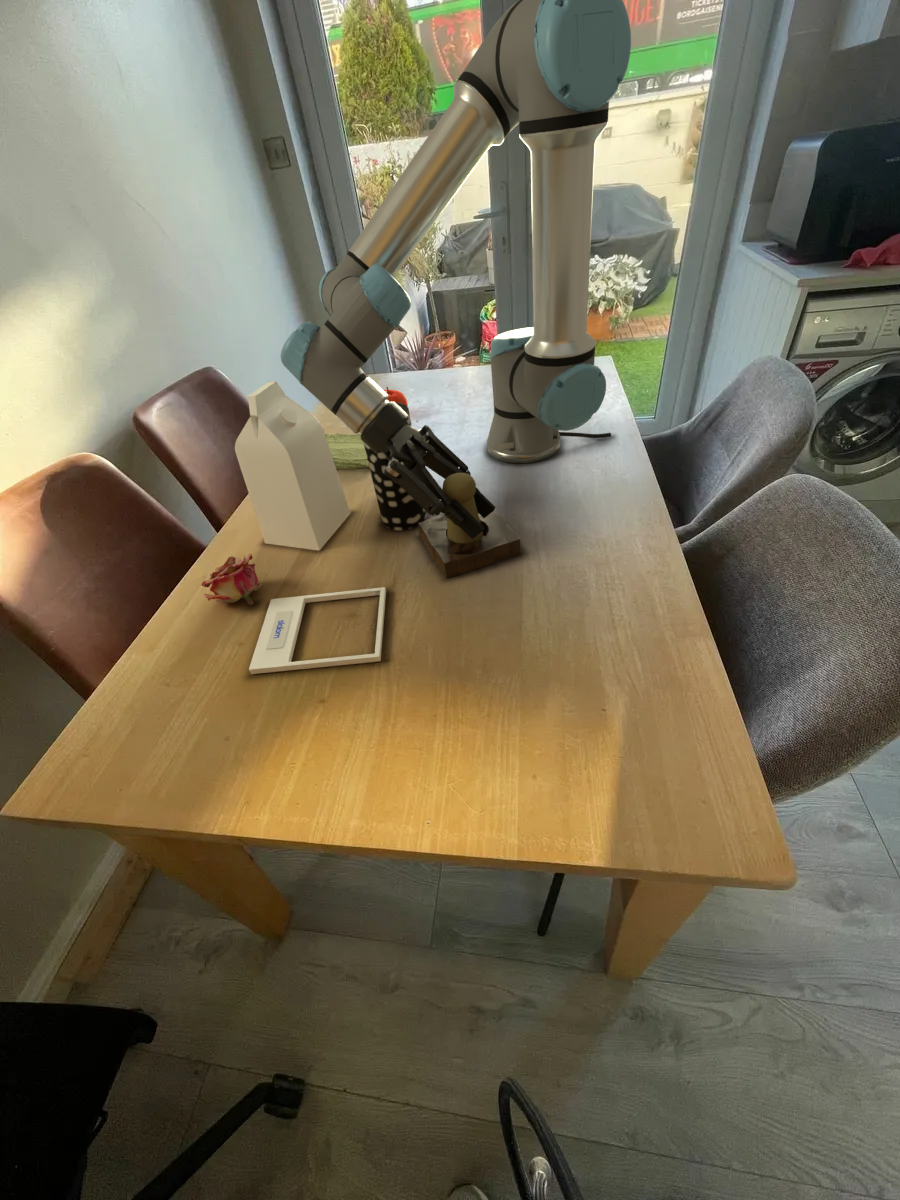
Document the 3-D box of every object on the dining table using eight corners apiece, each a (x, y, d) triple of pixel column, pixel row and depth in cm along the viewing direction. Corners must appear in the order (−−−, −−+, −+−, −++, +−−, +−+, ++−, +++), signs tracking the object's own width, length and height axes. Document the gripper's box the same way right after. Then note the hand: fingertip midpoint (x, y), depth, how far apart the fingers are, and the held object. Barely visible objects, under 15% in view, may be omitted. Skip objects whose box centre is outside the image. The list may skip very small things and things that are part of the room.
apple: (370, 424, 135) (363, 391, 130) (389, 411, 140) (384, 379, 135) (396, 428, 131) (390, 395, 126) (415, 415, 136) (410, 382, 131)
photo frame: (270, 598, 86) (384, 586, 85) (272, 603, 86) (386, 591, 86) (248, 668, 75) (378, 655, 74) (250, 674, 76) (380, 661, 75)
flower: (286, 582, 88) (255, 540, 86) (244, 610, 80) (210, 565, 79) (254, 602, 93) (226, 563, 92) (213, 630, 86) (181, 588, 85)
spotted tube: (420, 531, 98) (400, 424, 84) (376, 529, 100) (350, 425, 86) (431, 505, 103) (414, 401, 90) (389, 504, 105) (366, 402, 92)
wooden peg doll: (445, 528, 94) (437, 470, 86) (480, 523, 94) (475, 465, 86) (448, 549, 89) (439, 490, 82) (485, 544, 89) (480, 484, 82)
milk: (299, 507, 108) (254, 373, 91) (350, 513, 105) (313, 374, 88) (265, 543, 100) (208, 403, 83) (319, 550, 96) (271, 405, 79)
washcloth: (374, 471, 116) (371, 457, 114) (298, 470, 120) (294, 457, 118) (391, 442, 126) (389, 429, 124) (321, 443, 130) (317, 430, 128)
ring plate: (488, 515, 99) (487, 500, 97) (522, 554, 89) (521, 539, 87) (419, 536, 96) (416, 522, 94) (446, 579, 87) (443, 564, 85)
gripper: (387, 409, 91) (486, 505, 97) (333, 460, 79) (450, 568, 84) (412, 378, 86) (515, 481, 92) (358, 427, 74) (481, 544, 79)
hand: (484, 522), depth 88 cm, fingers closed on wooden peg doll, 5 cm apart
